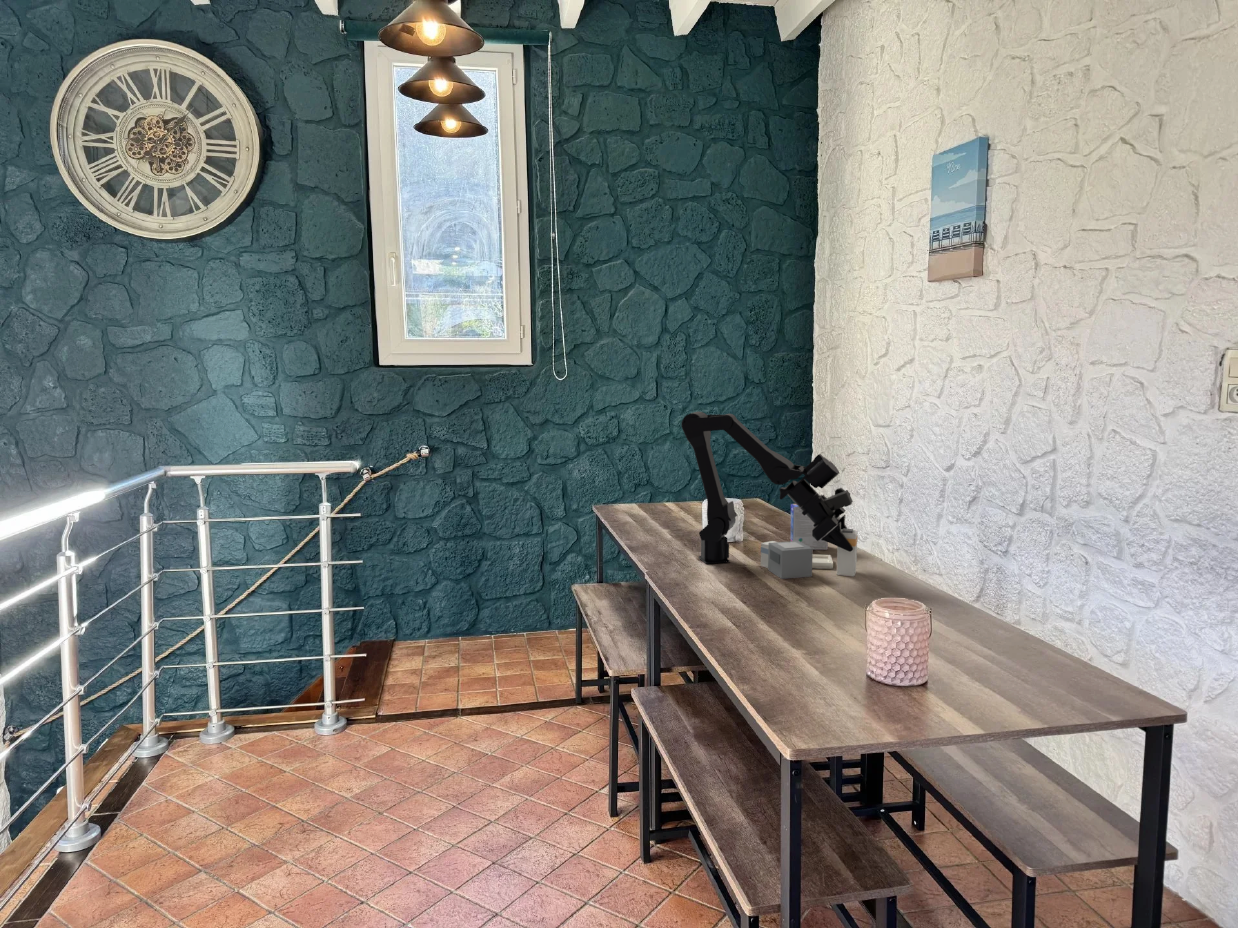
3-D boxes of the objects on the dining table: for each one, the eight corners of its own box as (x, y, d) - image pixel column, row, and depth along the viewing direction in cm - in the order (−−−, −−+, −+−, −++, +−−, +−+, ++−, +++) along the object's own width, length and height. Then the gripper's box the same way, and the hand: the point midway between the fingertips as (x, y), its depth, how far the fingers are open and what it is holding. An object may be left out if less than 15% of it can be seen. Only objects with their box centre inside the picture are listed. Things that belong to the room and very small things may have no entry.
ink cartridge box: (824, 545, 229) (825, 494, 227) (828, 550, 224) (830, 498, 222) (789, 545, 230) (790, 494, 227) (792, 550, 224) (794, 498, 222)
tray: (800, 567, 207) (800, 561, 207) (798, 559, 215) (798, 553, 214) (833, 568, 205) (833, 563, 205) (830, 560, 213) (830, 554, 213)
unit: (780, 578, 197) (781, 550, 196) (767, 570, 205) (768, 542, 204) (812, 576, 199) (813, 547, 198) (798, 567, 207) (798, 540, 206)
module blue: (772, 569, 205) (772, 546, 205) (760, 565, 209) (760, 543, 208) (784, 567, 208) (785, 544, 207) (772, 563, 211) (773, 540, 210)
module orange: (836, 574, 200) (837, 530, 199) (838, 570, 204) (839, 527, 203) (854, 576, 199) (855, 532, 197) (856, 571, 203) (857, 528, 201)
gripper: (827, 485, 191) (875, 535, 189) (837, 473, 208) (881, 519, 206) (793, 515, 195) (838, 565, 193) (805, 501, 212) (848, 546, 210)
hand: (853, 547), depth 200 cm, fingers open, 5 cm apart
